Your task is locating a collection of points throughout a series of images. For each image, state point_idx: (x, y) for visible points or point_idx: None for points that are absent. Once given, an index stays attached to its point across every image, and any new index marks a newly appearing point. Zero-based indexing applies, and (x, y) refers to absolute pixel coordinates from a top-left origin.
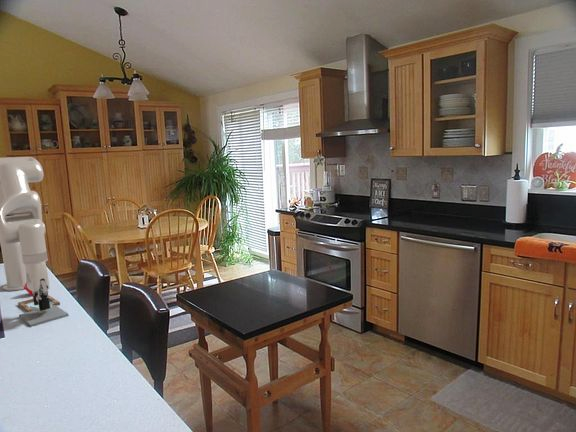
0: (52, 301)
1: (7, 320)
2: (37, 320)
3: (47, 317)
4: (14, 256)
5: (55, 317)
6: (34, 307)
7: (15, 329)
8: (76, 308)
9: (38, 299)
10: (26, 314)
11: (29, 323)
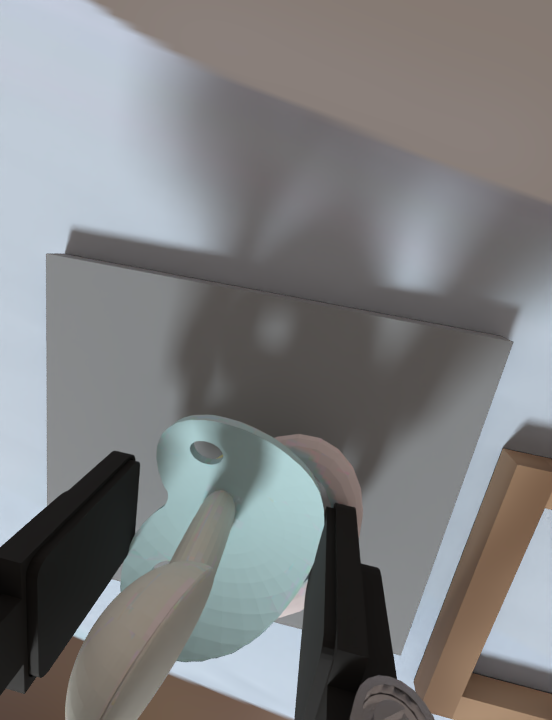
0: (198, 657)
1: (535, 205)
2: (108, 352)
3: (107, 439)
4: None
5: (47, 470)
6: (266, 470)
7: (130, 127)
8: (177, 661)
9: (128, 591)
10: (418, 391)
11: (92, 266)
